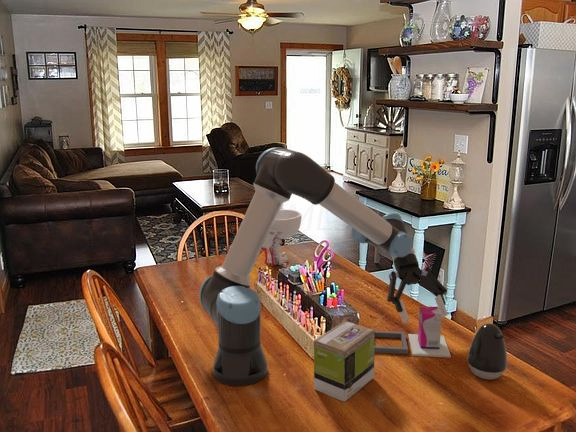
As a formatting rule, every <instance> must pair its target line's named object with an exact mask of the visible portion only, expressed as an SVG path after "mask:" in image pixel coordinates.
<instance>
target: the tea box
mask: <svg viewBox="0 0 576 432" xmlns="http://www.w3.org/2000/svg"><path fill="white" fill-rule="evenodd" d="M375 331H376V330H375V329H373V328H370V327H366V326H362V325H360V324H356V323H353V322H351V321H350V322H349V321H347V320H344V321H342V322H341V323H339V324H337V325H336V326H334V327H332V328H331V329H330V330H328V331H326V332H325V333H323V334H321V335H320V336H319V337H317V338H316V339H313V375H314V376H313V388H314V390H316V391H318V392H321V393H322V394H325V395H326V396H329V397H331V398H333V399H335V400H338V401H341V402H344V403H345V402H346V401H347V400H348V399H350V398H351V397H352V396H353V395H355V394H356V393H357V392H358V391H360V390H361V389H362V388H363V387H365V386H366V385H367V384H368V383H369V382H370V381H372V380H373V379H374V378H375V352H374V346H376V345H375V344H376V343H375V342H376V341H375V338H376V337H375Z"/></svg>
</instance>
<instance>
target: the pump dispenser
mask: <svg viewBox="0 0 576 432" xmlns="http://www.w3.org/2000/svg"><path fill="white" fill-rule="evenodd" d="M467 363H468V366H469V368H470V370H471V372H472V374H474V375H475V376H477V377H478V378H481V379H483V380H488V381H489V380H496V379H498V378H500V377H501V376H502V375H503V374H504V373H505V370H506V369H507V367H508V354H507V347H506V342H505V335H503V333H502V331H501V329H500V328H499V326H498V325H496V324H494V323H491V322H489V323H484V324H482V325H481V326H480V327H479V328H478V329H477V331H476V333H475V335H474V336H473V339H472V340H471V343H470V346H469V349H468V354H467Z"/></svg>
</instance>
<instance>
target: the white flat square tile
mask: <svg viewBox="0 0 576 432" xmlns="http://www.w3.org/2000/svg"><path fill="white" fill-rule="evenodd" d="M407 336H408V341H409V346H410V350H411V353H412V354H411V355H412V356H413V357H429V358H431V357H432V358H446V359H448V358H450V359H451V358H452V355H451V353H450V350H449V347H448V345H447V341H446V339H445V337H444V335H441V334H440V349H427V348H421V347H420V344H419V341H418V333H408V334H407Z"/></svg>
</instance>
